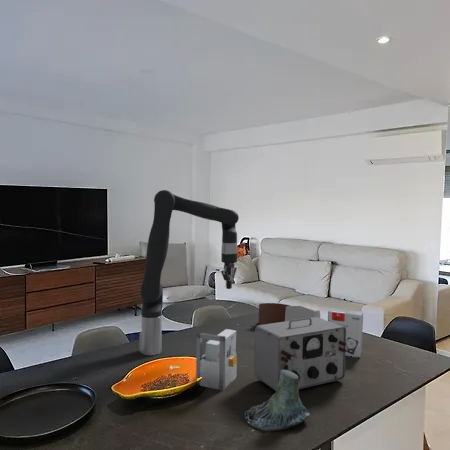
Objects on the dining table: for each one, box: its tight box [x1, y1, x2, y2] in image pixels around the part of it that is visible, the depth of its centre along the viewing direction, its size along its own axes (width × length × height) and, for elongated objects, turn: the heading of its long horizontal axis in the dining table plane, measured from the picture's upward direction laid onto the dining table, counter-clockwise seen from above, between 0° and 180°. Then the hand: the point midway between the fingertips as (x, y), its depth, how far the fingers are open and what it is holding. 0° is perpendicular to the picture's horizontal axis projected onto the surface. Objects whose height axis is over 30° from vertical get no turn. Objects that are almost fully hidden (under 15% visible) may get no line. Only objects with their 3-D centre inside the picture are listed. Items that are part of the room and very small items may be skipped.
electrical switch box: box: [285, 305, 321, 321], centre depth 215 cm, size 15×15×20 cm
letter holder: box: [258, 302, 292, 325], centre depth 243 cm, size 10×20×14 cm, turn 74°
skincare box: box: [204, 328, 237, 362], centre depth 174 cm, size 21×6×16 cm, turn 157°
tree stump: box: [244, 370, 310, 432], centre depth 140 cm, size 18×20×18 cm
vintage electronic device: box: [253, 317, 346, 392], centre depth 167 cm, size 32×18×25 cm, turn 117°
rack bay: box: [195, 331, 238, 391], centre depth 167 cm, size 12×13×20 cm
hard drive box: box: [327, 307, 364, 359], centre depth 200 cm, size 16×8×20 cm, turn 68°
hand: (228, 288), depth 203 cm, fingers closed
